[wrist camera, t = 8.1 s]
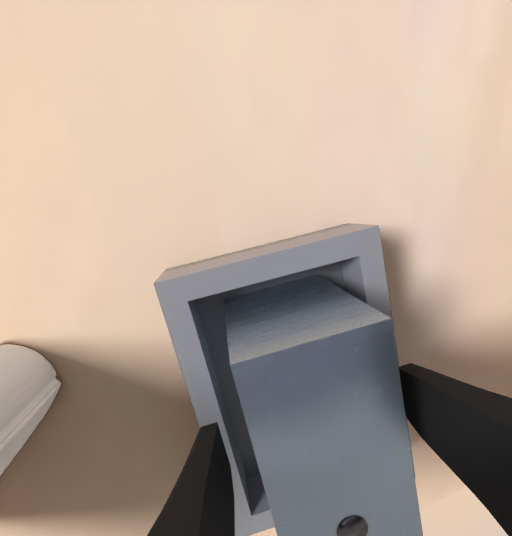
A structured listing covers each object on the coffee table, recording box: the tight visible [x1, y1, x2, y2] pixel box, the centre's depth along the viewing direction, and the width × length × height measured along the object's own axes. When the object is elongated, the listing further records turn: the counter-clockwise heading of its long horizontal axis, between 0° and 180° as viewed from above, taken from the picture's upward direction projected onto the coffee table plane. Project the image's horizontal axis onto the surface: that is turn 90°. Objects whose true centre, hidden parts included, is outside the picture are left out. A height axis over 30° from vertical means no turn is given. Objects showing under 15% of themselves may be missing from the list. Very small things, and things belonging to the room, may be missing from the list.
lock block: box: [223, 274, 423, 536], centre depth 11 cm, size 4×8×6 cm, turn 13°
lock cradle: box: [154, 224, 415, 536], centre depth 14 cm, size 9×12×3 cm
